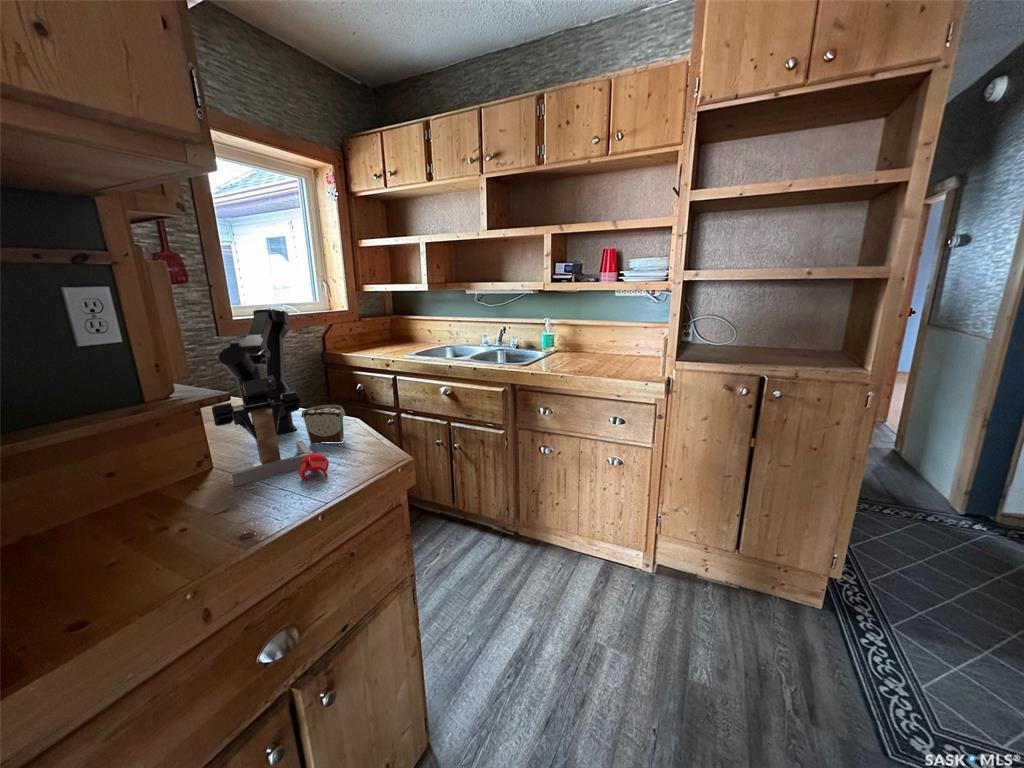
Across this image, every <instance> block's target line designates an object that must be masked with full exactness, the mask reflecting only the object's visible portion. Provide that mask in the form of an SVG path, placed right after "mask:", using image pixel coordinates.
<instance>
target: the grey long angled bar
mask: <svg viewBox="0 0 1024 768" xmlns="http://www.w3.org/2000/svg"><path fill="white" fill-rule="evenodd" d="M295 444H296V450H297V453H298V455H295V456H290V457H288V458H287V457H286V458H285V456H280V457H281V460H278V461H274V462H270V463H267V464H263V465H262V464H261V462H257V463H253V464H252V467H248V468H247V467H246V468H243V469H240V470H236V471H233V472H230V473H231V477H232V479H231V480H232V482H233V486H234V488H235V487H239V486H242V485H245V484H250V483H253V482H257V481H261V480H265V479H268V478H272V477H276V476H279V475H282V474H286V473H290V472H293V471H294V472H295V471H297V470H299V467H300V466H301V465H300V463H301V461H302V459H303V458H304V457H306V456H307V455H310V454H314V452H313V451H312V450H311V449H310V448H309V447H308V445H307V444H306V443H305V442H304V441H303V440H298V441H295Z"/></svg>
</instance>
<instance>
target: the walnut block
mask: <svg viewBox="0 0 1024 768" xmlns="http://www.w3.org/2000/svg"><path fill="white" fill-rule="evenodd" d="M249 414H250V416H251V417H250V419H251V422H252V424H253V426H254V429H255V432H256V435H257V439H255V442H256V447H257V452H258V457H259V463H261V464H262V465H263V464H267V463H270V462H274V461H278V460H281V457H282V456H281V453H280V447H279V441H278V438H277V437H278V434H277V435H276V430H275V425H274V419H273V414H272V412H271V411H270V409H269V408H268V409H263V410H257V411H252V412H250V413H249Z"/></svg>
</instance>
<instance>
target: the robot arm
mask: <svg viewBox="0 0 1024 768" xmlns="http://www.w3.org/2000/svg"><path fill="white" fill-rule="evenodd" d="M252 312H253V314H252V315H253V318H252V321H251V324H250V326H249V329H248V332H247V335H246V337H244V338H242V339H241V340H239V341H238V342H230V344H229V346H228V347H226V348H224V349H222V351H221V352H220V353H218V354H219V355H218V360H219V362H220V363H221V364H222V366H223V367H225V369H226V370H227V371H228V373H229V374H230V375H232V376H233V377H235V380H236V383H237V386H238V390H239V394H240V397H241V401H242V404H237V405H232V403H231V402H225V403H220V404H214V405H213V406H212V407H211V412H212V416H213V418H212V419H213V421H214V425H215V426H217V427H219V426H226V425H230V424H232V423H234V425H235V426H238V425H239V426H241V427H242V428H244V430H245V431H247V432H248V433H249V435H251V437H253V439H255V440H256V439H257V435H256V432H255V429H254V426H253V423H252V418H251V417H250V414H251V413H250V412H252V411H257V410H263V409H268V408H269V409H270V411H271V412H272V414H273V419H274V425H275V430H276V435H277V436H278V435H281V434H282V435H283V434H284V433H285V434H286V433H290V431H291V432H294V430H295V431H297V430H298V428H297V427H296V426H295V424H294V420H293V414H292V413H294V412H296V411H298V410H300V407H301V406H300V404H301V397H300V395H299V393H298V392H297V391H291V389H290V388H289V386H288V385H287V384H286V382H285V365H284V364H285V362H284V361H285V359H284V357H285V356H284V338H285V337H286V336H287V334H288V333H289V325H290V324H291V318H290V314H289V313H288V312H286V311H285V310H284V309H283V310H282V309H280V310H277V309H274V308H272V307H264V308H263V307H262V308H256V309H253V311H252ZM261 365H262V366H263V365H266V376H264V378H263V375H262V370H261V367H259V366H261Z"/></svg>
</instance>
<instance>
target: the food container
mask: <svg viewBox="0 0 1024 768" xmlns="http://www.w3.org/2000/svg"><path fill="white" fill-rule="evenodd" d="M345 416H346V412H345V410H344V408H343V407H342V405H337V404H325V405H318V406H313V407H309V408H306V409H302V411H301V418H303V421H304V424H305V427H306V428H305V429H306V431H307V434H308V439H309V443H310V444H311V443H321V442H342V441H343V439H344V436H345V435H344V417H345ZM344 440H345V439H344Z"/></svg>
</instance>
